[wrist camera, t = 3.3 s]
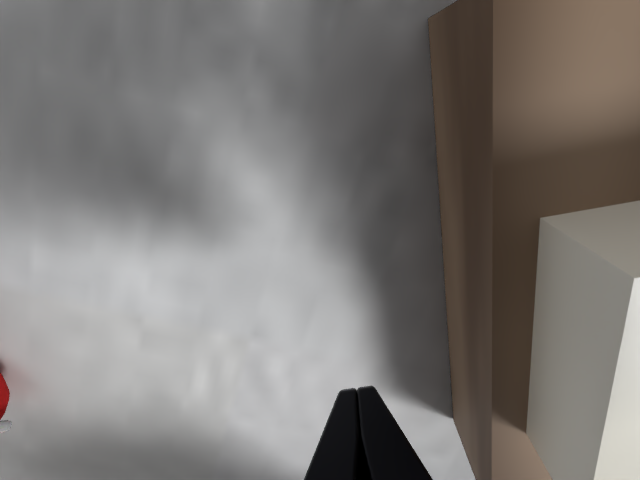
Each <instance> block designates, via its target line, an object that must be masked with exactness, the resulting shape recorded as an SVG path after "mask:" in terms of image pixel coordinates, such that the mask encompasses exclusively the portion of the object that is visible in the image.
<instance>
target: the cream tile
mask: <svg viewBox="0 0 640 480" xmlns="http://www.w3.org/2000/svg"><path fill="white" fill-rule="evenodd" d="M526 434H527V436H528V437H529V439H530V441H531V443H532V444H533V446H534V448H535V450H536V451H537V453H538V455H539V457H540V458H541V460H542V462H543V464H544V465H545V467H546V469H547V471H548V473H549V474H550V476H551V478H552V480H640V201H634V202H628V203H622V204H617V205H611V206H605V207H600V208H594V209H588V210H582V211H577V212H571V213H565V214H560V215H554V216H548V217H542V218H540V228H539V243H538V259H537V274H536V289H535V305H534V320H533V336H532V351H531V367H530V382H529V398H528V413H527V429H526Z"/></svg>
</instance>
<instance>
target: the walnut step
mask: <svg viewBox="0 0 640 480" xmlns="http://www.w3.org/2000/svg"><path fill="white" fill-rule="evenodd" d="M428 27H429V42H430V58H431V74H432V90H433V105H434V121H435V137H436V153H437V168H438V184H439V200H440V216H441V231H442V247H443V263H444V279H445V295H446V310H447V326H448V342H449V358H450V373H451V389H452V405H453V420H454V423H455V426H456V428H457V431H458V434H459V436H460V439H461V441H462V444H463V447H464V449H465V452H466V455H467V457H468V460H469V463H470V465H471V468H472V471H473V473H474V476H475V479H476V480H552V478H551V476H550V474H549V473H548V471H547V469H546V467H545V465H544V464H543V462H542V460H541V458H540V457H539V455H538V453H537V451H536V450H535V448H534V446H533V444H532V443H531V441H530V439H529V437H528V436H527V434H526V429H527V413H528V398H529V382H530V367H531V351H532V336H533V320H534V305H535V289H536V274H537V259H538V243H539V228H540V218H542V217H548V216H554V215H560V214H565V213H571V212H577V211H582V210H588V209H594V208H600V207H605V206H611V205H617V204H622V203H628V202H634V201H640V0H458V1H456V2H454V3H453V4H451V5H449V6H448V7H446V8H445V9H443V10H441V11H440V12H438V13H436V14H435V15H433V16H431V17H430V18H428Z"/></svg>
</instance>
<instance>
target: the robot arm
mask: <svg viewBox="0 0 640 480" xmlns="http://www.w3.org/2000/svg"><path fill="white" fill-rule="evenodd" d="M304 480H433V479H432V478H431V476H430V475H429V473H428V471H427V470H426V468H425V467H424V465H423V464H422V462H421V460H420V459H419V457H418V456H417V454H416V452H415V451H414V449H413V448H412V446H411V444H410V443H409V441H408V440H407V438H406V436H405V435H404V433H403V432H402V430H401V428H400V427H399V425H398V424H397V422H396V421H395V419H394V417H393V416H392V414H391V413H390V411H389V409H388V408H387V406H386V405H385V403H384V401H383V400H382V398H381V397H380V395H379V393H378V392H377V390H376V389H375V387H373V386H366V387H360V388H358V389H357V390H356V389H355V388H352V389H344V390H341V391H340V392H339V393H338V396H337V398H336V401H335V403H334V406H333V408H332V411H331V413H330V416H329V418H328V421H327V423H326V426H325V428H324V431H323V433H322V436H321V438H320V441H319V443H318V446H317V448H316V451H315V453H314V456H313V458H312V461H311V463H310V466H309V468H308V471H307V473H306V476H305V478H304Z"/></svg>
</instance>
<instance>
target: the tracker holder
mask: <svg viewBox="0 0 640 480" xmlns="http://www.w3.org/2000/svg"><path fill="white" fill-rule="evenodd" d="M9 394H10V393H9V389H8V387H7V384H6V382H5V380H4V378H3V376H2V374H1V373H0V419H1V418H2V416H3V415H4V413H5V411H6V407H7V404H8V401H9ZM11 425H12V423H11V421H8V420H6V421H0V433H2V432H7V431H9V429H10V428H11Z"/></svg>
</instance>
